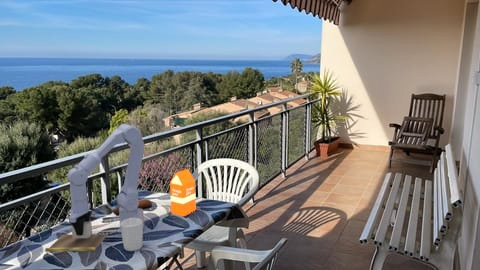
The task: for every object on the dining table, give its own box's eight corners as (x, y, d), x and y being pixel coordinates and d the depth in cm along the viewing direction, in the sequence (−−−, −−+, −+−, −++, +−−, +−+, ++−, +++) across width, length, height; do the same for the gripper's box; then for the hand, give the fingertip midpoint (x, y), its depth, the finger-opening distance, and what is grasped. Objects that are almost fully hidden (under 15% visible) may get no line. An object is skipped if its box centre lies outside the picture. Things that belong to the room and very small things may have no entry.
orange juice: (196, 210, 176) (194, 169, 173) (183, 216, 169) (182, 174, 166) (183, 207, 180) (182, 167, 177) (170, 213, 173) (169, 171, 170)
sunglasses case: (144, 202, 188) (146, 192, 184) (150, 212, 184) (153, 203, 180) (109, 211, 176) (111, 201, 173) (114, 222, 172) (116, 212, 169)
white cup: (132, 254, 135) (130, 228, 133) (117, 248, 139) (115, 223, 137) (148, 245, 141) (147, 220, 140) (133, 240, 146) (132, 216, 144)
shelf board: (107, 235, 150) (107, 231, 150) (94, 252, 136) (94, 248, 136) (63, 236, 150) (62, 232, 150) (45, 253, 136) (44, 249, 136)
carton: (88, 238, 143) (87, 225, 142) (72, 238, 143) (70, 226, 142) (92, 233, 147) (91, 221, 146) (76, 233, 147) (75, 221, 146)
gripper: (76, 193, 149) (79, 224, 152) (59, 206, 135) (63, 241, 137) (94, 192, 149) (97, 224, 152) (79, 205, 135) (82, 240, 137)
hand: (82, 232), depth 144 cm, fingers closed on carton, 4 cm apart
